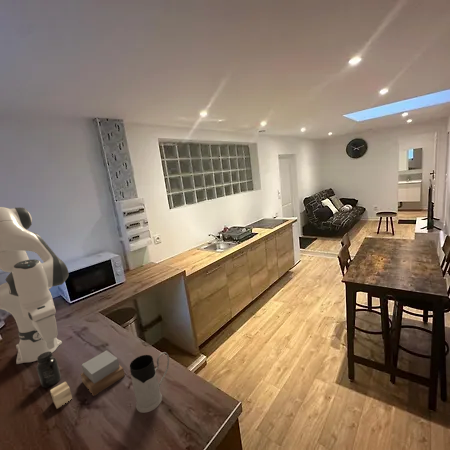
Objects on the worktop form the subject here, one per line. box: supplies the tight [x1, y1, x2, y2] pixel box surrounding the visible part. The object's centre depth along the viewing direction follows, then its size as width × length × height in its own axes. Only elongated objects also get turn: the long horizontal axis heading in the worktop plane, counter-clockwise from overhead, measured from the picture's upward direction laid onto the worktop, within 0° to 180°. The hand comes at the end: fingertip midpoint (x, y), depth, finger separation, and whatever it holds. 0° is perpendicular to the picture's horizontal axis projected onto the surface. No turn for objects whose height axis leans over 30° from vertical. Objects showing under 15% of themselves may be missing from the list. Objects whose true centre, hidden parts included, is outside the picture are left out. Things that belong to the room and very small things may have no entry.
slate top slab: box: [81, 349, 121, 384], centre depth 102 cm, size 10×10×4 cm
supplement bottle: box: [36, 352, 62, 388], centre depth 104 cm, size 7×7×12 cm
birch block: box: [49, 381, 73, 410], centre depth 94 cm, size 5×5×5 cm
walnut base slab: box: [80, 364, 126, 397], centre depth 102 cm, size 12×12×4 cm
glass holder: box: [129, 351, 170, 413], centre depth 89 cm, size 9×14×15 cm, turn 135°
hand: (47, 343), depth 90 cm, fingers open, 8 cm apart
